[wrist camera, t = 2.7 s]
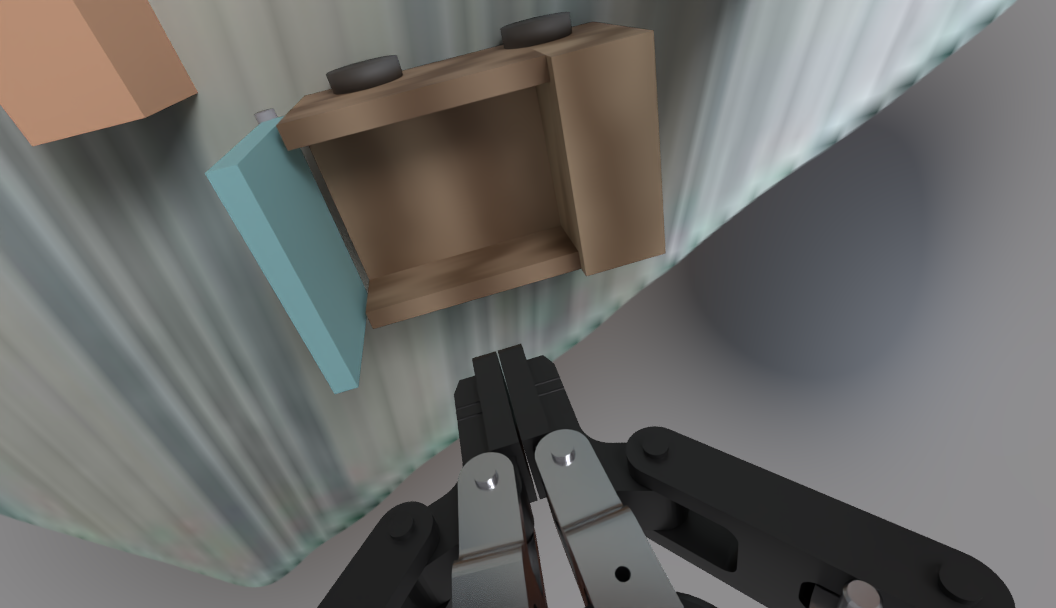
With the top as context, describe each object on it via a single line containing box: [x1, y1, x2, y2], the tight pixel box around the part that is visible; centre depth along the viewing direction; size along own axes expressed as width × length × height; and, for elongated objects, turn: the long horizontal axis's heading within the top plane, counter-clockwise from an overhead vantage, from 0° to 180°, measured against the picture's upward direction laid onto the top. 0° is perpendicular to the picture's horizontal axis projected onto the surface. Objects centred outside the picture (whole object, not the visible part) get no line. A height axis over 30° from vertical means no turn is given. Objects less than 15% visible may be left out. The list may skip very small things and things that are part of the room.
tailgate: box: [205, 109, 368, 394], centre depth 26 cm, size 2×12×10 cm, turn 12°
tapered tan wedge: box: [0, 0, 198, 146], centre depth 23 cm, size 5×7×7 cm
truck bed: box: [276, 12, 665, 329], centre depth 30 cm, size 18×14×9 cm
